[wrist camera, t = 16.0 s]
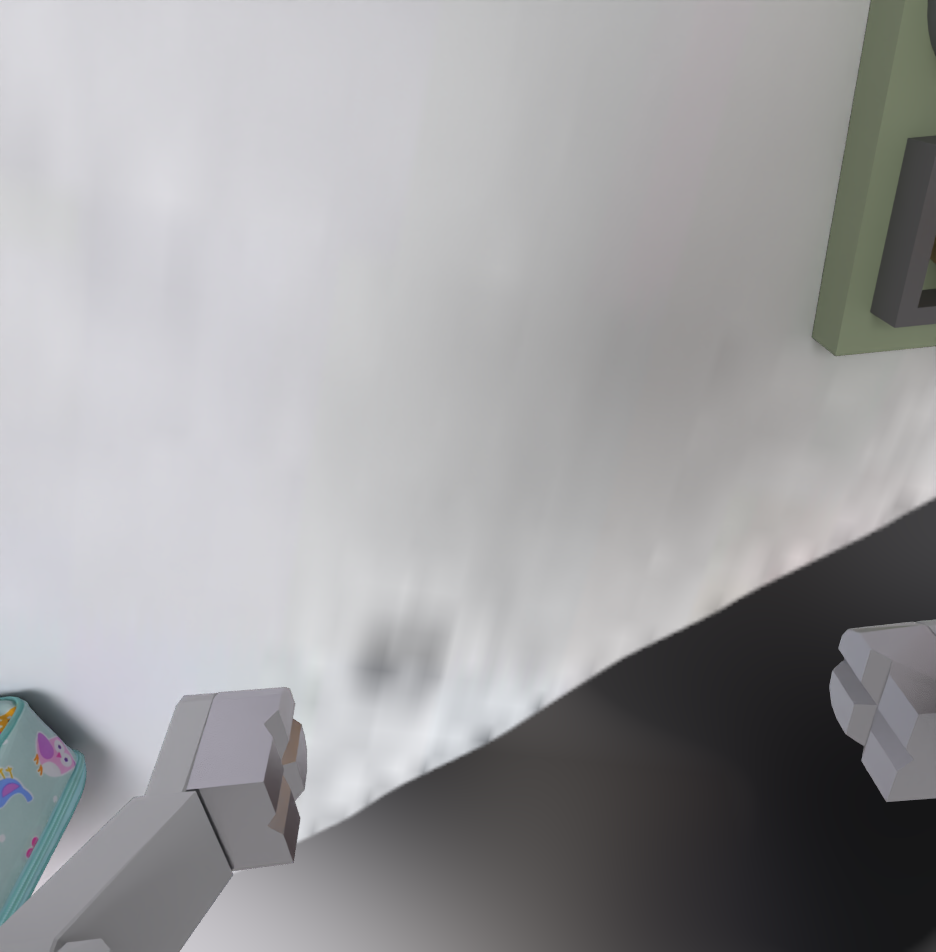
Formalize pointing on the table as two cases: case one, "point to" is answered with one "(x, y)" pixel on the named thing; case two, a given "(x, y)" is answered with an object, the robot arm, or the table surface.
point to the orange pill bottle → (933, 252)
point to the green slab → (886, 193)
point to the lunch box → (32, 799)
